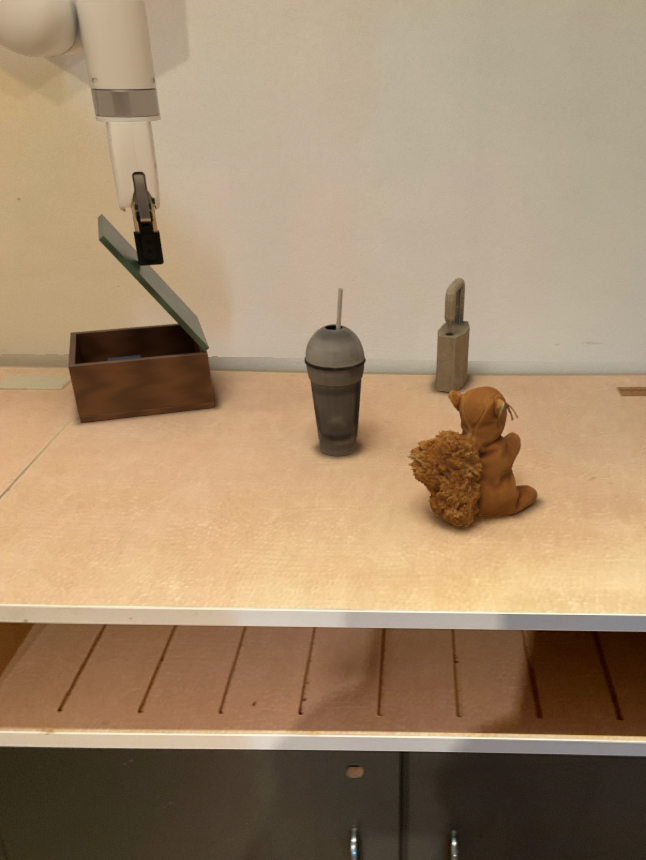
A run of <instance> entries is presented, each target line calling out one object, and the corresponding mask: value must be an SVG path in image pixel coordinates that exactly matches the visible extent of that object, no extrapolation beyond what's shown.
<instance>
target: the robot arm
mask: <svg viewBox="0 0 646 860" xmlns="http://www.w3.org/2000/svg"><path fill="white" fill-rule="evenodd" d="M0 46H1V47H3V48H5V49H7V50H9V51H12V52H13V53H16V54H18V55H21V56H24V57H25V56H26V57H29V58H41V57H67V56H74V55H79V54H84V59H85V65H86V71H87V76H88V82H89V88H90V93H91V98H92V99H91V100H92V103H93V110H94V115H95V120H96V121H97V122H103V123H105V126H106V135H107V136H106V137H107V144H108V151H109V156H110V163H111V168H112V174H113V179H114V185H115V192H116V197H117V202H118V207H119V209H120V210H121V211H122V212H127V211H126V208H130V209H131V215H132V220H133V227H134V231H133V232H132V233H133V238H134V239H133V240H134V244H135V250H136V251H137V257H138V262H139V265H141V266H146V265H150V266H160V265H164V263H165V260H164V252H163V247H162V239H161V234H160V230H158V225H157V224H158V223H157V217H156V211H157V210H158V209H159V208H160V207H161V201H160V185H159V174H158V173H159V171H158V164H157V156H156V148H155V147H156V146H155V141H154V133H153V125H152V122H156V121H161V120H162V118H161V111H160V104H159V97H158V90H157V81H156V75H155V69H154V60H153V52H152V45H151V39H150V31H149V24H148V16H147V9H146V3H145V0H0Z"/></svg>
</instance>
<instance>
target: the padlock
mask: <svg viewBox="0 0 646 860" xmlns="http://www.w3.org/2000/svg"><path fill="white" fill-rule="evenodd" d="M465 296H466V283H465V280H464V279H463V278H462V277H456V278H455V279H454V280H453V281H452V282H451V283H450V284H449V285H448V287H447V288H446V291H445V297H444V321H445V322H444V323H442V324H441V326H440V327H439V329H438V330H437V339H436V341H437V343H436V344H437V345H436V366H435V367H436V370H435V371H436V372H435V386H436V391H438V392H444V393H445V392H447V393H450V392H451V391H453V390H455V391H458V390H460V389H461V388H463V386H464V385H465V383H466V382H467V380H468V368H469V367H468V366H469V365H468V364H469V348H470V333H471V332H470V331H471V330H470V329H471V325H470V322H469V320H464V319H465V318H464V317H465V315H464V314H465Z"/></svg>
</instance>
